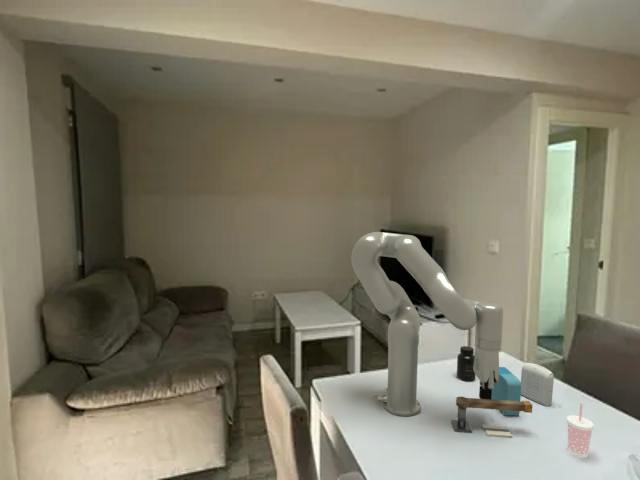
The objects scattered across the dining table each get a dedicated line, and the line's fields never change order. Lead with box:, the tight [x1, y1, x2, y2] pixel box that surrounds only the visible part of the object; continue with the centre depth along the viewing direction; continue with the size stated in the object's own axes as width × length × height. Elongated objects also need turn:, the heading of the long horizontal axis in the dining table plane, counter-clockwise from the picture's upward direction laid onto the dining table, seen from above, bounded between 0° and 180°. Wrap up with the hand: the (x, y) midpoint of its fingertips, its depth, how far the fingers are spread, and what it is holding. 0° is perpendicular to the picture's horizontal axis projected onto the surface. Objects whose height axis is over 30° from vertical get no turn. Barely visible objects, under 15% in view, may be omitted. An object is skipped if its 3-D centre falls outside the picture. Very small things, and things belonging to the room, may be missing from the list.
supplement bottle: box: [456, 345, 477, 382], centre depth 150 cm, size 7×7×12 cm
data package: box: [491, 366, 522, 416], centre depth 128 cm, size 12×4×12 cm, turn 0°
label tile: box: [481, 423, 513, 439], centre depth 115 cm, size 7×5×1 cm
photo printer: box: [520, 362, 555, 407], centre depth 134 cm, size 10×4×12 cm, turn 31°
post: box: [450, 406, 473, 434], centre depth 117 cm, size 5×5×7 cm
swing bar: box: [455, 396, 534, 414], centre depth 115 cm, size 21×4×2 cm, turn 83°
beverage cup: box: [566, 403, 595, 459], centre depth 105 cm, size 6×6×14 cm
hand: (485, 399), depth 120 cm, fingers closed
